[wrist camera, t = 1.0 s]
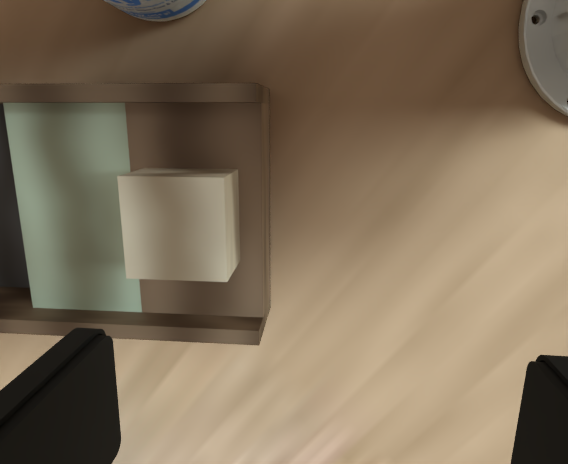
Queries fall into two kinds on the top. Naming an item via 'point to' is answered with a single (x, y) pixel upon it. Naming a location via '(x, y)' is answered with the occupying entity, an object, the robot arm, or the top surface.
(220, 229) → the birch block
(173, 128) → the lane deck
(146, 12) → the supplement tub
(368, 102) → the top surface
